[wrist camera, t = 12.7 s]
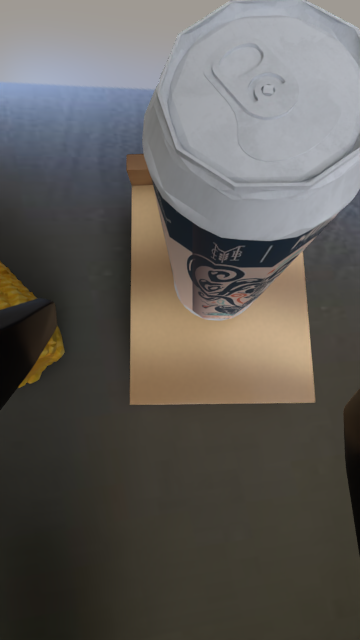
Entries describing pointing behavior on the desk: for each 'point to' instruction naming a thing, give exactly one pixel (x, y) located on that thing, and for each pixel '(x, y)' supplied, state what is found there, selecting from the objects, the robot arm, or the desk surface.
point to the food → (9, 291)
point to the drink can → (252, 145)
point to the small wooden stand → (210, 328)
